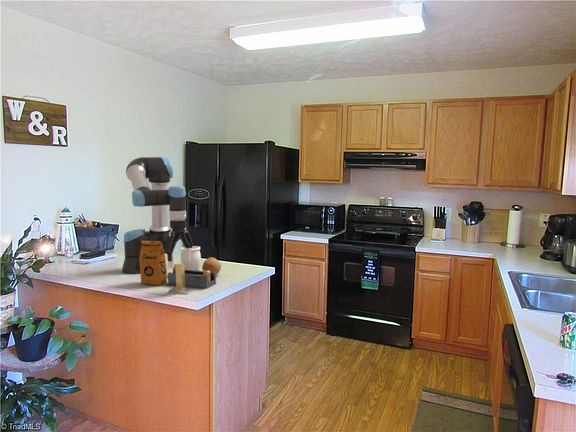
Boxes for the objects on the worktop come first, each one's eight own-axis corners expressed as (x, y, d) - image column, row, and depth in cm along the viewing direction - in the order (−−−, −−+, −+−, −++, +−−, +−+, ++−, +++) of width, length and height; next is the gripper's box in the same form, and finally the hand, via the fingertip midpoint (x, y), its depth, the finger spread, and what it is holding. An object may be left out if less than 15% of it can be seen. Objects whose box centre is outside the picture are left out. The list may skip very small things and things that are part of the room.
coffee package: (159, 287, 209) (157, 242, 206) (137, 285, 212) (135, 241, 210) (170, 281, 218) (168, 239, 216) (149, 280, 222) (147, 238, 219)
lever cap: (168, 292, 199) (167, 264, 198) (174, 289, 204) (173, 262, 203) (187, 294, 196) (186, 266, 195) (193, 291, 201) (192, 264, 199)
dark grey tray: (168, 284, 212) (167, 266, 211) (178, 280, 221) (177, 262, 220) (206, 288, 205) (206, 269, 204) (216, 283, 213) (215, 265, 212)
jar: (204, 273, 236) (203, 246, 234) (194, 277, 226) (193, 249, 224) (188, 271, 239) (187, 245, 237) (177, 276, 229) (176, 248, 228)
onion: (222, 277, 226) (221, 258, 225) (203, 278, 223) (202, 260, 222) (219, 273, 235) (219, 255, 234) (201, 274, 233) (201, 256, 232)
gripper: (168, 223, 183) (170, 271, 186) (199, 216, 207) (200, 259, 209) (154, 222, 186) (156, 270, 188) (186, 216, 209) (187, 258, 212)
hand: (179, 264), depth 199 cm, fingers open, 13 cm apart
